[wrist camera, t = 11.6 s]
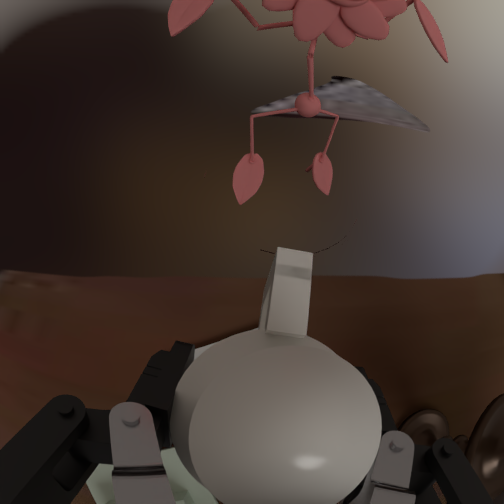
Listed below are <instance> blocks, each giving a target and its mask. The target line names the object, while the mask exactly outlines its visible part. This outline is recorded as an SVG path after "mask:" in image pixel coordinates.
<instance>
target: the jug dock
mask: <svg viewBox="0 0 504 504" xmlns="http://www.w3.org/2000/svg"><path fill="white" fill-rule="evenodd" d="M160 454H161V458H162V461H163V465H164V468H165V470H166V473H167V476H168V480H169V483H170V487H171V490H172V493H173V496H174V499H175V502H176V504H219V503H218V502H217V500H216V498H215V496H214V495H213V494H212V493H210V492H209V490H208V489H206V488H205V487H204V486H202V485H201V484H200V483H199V482H197V481H196V480H195V479H194V477H193V476H192V475H191V474H190V473H189V472H188V471H187V469H186V468H185V467H184V465H183V464H182V462H181V460H180V459H179V457H178V455H177V453H176V450H175V447H171V448H167V449H162V450H161V453H160ZM112 470H113V465H109V464H100V463H99V465H98V466H97V467H96V469H95V470H94V472H93V473H92V474H91V476H90V477H89V478H88V480H87V481H86V483H87V485H88V487H89V489H90V491H91V494H92V496H93V498H94V499H95V501H96V503H97V504H116V501H115V496H114V490H113V484H112Z"/></svg>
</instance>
